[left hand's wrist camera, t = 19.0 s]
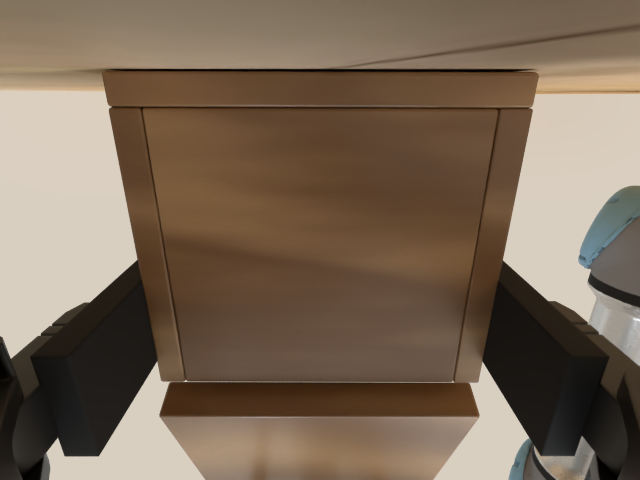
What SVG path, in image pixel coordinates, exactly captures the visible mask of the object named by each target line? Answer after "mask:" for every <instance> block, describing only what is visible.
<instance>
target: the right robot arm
mask: <svg viewBox="0 0 640 480" xmlns="http://www.w3.org/2000/svg"><path fill="white" fill-rule="evenodd" d="M579 263H580V264H581V265H582V266H584V267H585V268H587V269H591V273H590V276H589V279H588V286H589V287H590V289H591V290H592V291H593V293H594V294H595V296H596V298H597V299H596V302H595V305H594V308H593V311H592V313H591V316H590V319H589V322H588V325H591V326H592V327H594V328H595V329H596V330H597V331H598V332H599V335H603V336H604V337H605V338H607V339H608V340H609V341H610V342H611V343H613V344H614V345H615V346H616V347H617V348H618V349H620V350H621V351H622V352H623V353H624V354H626V355H627V356H628V357H629V358H630V359H631V360H633V361H634V362H635V363H636V364H637V365H639V366H640V186H629V187H625V188H623V189H621V190H619V191H618V192H616V193H615V194H614V195H613V196H612V197H611V198H610V199H609V200H608V201H607V202H606V204H605V205H604V206H603V207H602V209H601V210H600V212H599V213H598V215H597V216H596V218H595V220H594V221H593V223H592V225H591V227H590V229H589V230H588V232H587V234H586V236H585V239H584V241H583V243H582V246H581V249H580V255H579ZM593 454H594V451H593V449H592V448H591V447H590V445H589V444H588V443H587V442H586V440H585V439H584V438H583V436H582V437H581V440H580V443H579V445H578V448H577V451H576V454H575V456H540V454H539V453H538V451H537V449H536V448H535V446H534V444H533V443H532V441H531V440H530V438H529V439H527V440H526V441H525V442H524V443H523V445H522V446H521V448H520V449H519V451H518V453H517V455H516V458H515V462H514V465H513V466H512V468H511V471H510V475H509V480H584V478H585V475H586V472H587V470H588V467H589V465H590V462H591V459H592V457H593Z"/></svg>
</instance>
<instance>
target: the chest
mask: <svg viewBox="0 0 640 480" xmlns="http://www.w3.org/2000/svg"><path fill="white" fill-rule="evenodd" d="M102 76H103V82H104V87H105V92H106V97H107V102H108V105H109V106H111V108H110V109H109V114H110V119H111V124H112V130H113V135H114V140H115V145H116V150H117V155H118V160H119V165H120V171H121V176H122V181H123V186H124V191H125V196H126V202H127V207H128V212H129V217H130V222H131V228H132V233H133V238H134V243H135V248H136V253H137V259H138V264H139V269H140V274H141V279H142V284H143V289H144V294H145V299H146V305H147V310H148V315H149V320H150V325H151V330H152V335H153V340H154V345H155V350H156V356H157V362H158V367H159V372H160V377H161V381H169V382H183V381H185V380H187V381H253V382H452V381H454V382H455V383H477V382H478V381H479V376H480V371H481V366H482V359H483V354H484V349H485V344H486V339H487V334H488V329H489V324H490V319H491V314H492V309H493V304H494V298H495V293H496V288H497V283H498V281H499V276H500V271H501V266H502V261H503V256H504V251H505V246H506V241H507V236H508V231H509V226H510V221H511V216H512V211H513V206H514V201H515V196H516V191H517V186H518V181H519V176H520V172H521V166H522V162H523V156H524V152H525V147H526V142H527V137H528V132H529V127H530V122H531V117H532V112H533V110H532V109H530V107H532V105H533V102H534V97H535V92H536V87H537V82H538V77H539V76H538V73H536V72H331V71H105V72H103V74H102Z"/></svg>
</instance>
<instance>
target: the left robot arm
mask: <svg viewBox="0 0 640 480" xmlns="http://www.w3.org/2000/svg"><path fill="white" fill-rule="evenodd" d="M482 361H483V363H484V364H485V366H486V368H487V369H488V371H489V373H490V374H491V376H492V377H493V379H494V381H495V382H496V384H497V386H498V387H499V389H500V391H501V392H502V394H503V395H504V397H505V399H506V400H507V402H508V404H509V405H510V407H511V409H512V410H513V412H514V413H515V415H516V417H517V418H518V420H519V422H520V423H521V425H522V426H523V428H524V430H525V431H526V433H527V435H528V436H529V438H530V440H531V441H532V443H533V444H534V446H535V448H536V449H537V451H538V453H539V454H540V456H575V454H576V451H577V448H578V445H579V443H580V440H581V437H582V436H583V438H584V439H585V440H586V442H587V443H588V444H589V445H590V447H591V448H592V449H593V451H594V454H593V457H592V459H591V462H590V465H589V467H588V470H587V472H586V475H585V478H584V480H640V366H639V365H637V364H636V363H635V362H634V361H633V360H631V359H630V358H629V357H628V356H627V355H626V354H624V353H623V352H622V351H621V350H620V349H618V348H617V347H616V346H615V345H614V344H613V343H611V342H610V341H609V340H608V339H607V338H605V337H604V336H603V335H599V332H598V331H597V330H596V329H595V328H594V327H592V326H591V325H588V322H587V321H585V320H584V319H583V318H582V317H581V316H579V315H578V314H577V313H576V312H575V311H573V310H571V309H569V308H567V307H565V306H564V305H562V304H560V303H558V302H556V301H547V300H546V299H545V298H544V297H543V296H542V295H541V294H539V293H538V292H537V291H536V290H535V289H534V288H533V287H532V286H531V285H529V284H528V283H527V282H526V281H525V280H524V279H523V278H522V277H521V276H519V275H518V274H517V273H516V272H515V271H514V270H513V269H512V268H511V267H509V266H508V265H507V264H506V263H505V262H504V261H502V266H501V271H500V276H499V281H498V283H497V288H496V293H495V298H494V304H493V309H492V314H491V319H490V324H489V329H488V334H487V339H486V344H485V349H484V354H483V359H482ZM156 362H157V356H156V350H155V345H154V340H153V335H152V330H151V325H150V320H149V315H148V310H147V305H146V299H145V294H144V289H143V284H142V279H141V274H140V269H139V264H138V260H137V261H136V262H135V263H134V264H132V265H131V266H130V267H129V268H128V269H127V270H126V271H125V272H123V273H122V274H121V275H120V276H119V277H118V278H117V279H116V280H115V281H113V282H112V283H111V284H110V285H109V286H108V287H107V288H106V289H105V290H103V291H102V292H101V293H100V294H99V295H98V296H97V297H96V298H95V299H93V300H92V301H91V302H90V303H83V304H81V305H79V306H77V307H75V308H73V309H71V310H69V311H67V312H66V313H64V314H63V315H62V316H61V317H60V318H59V319H57V320H56V321H55V322H54V323H53V324H52V326H49V327H48V328H47V329H46V330H44V331H43V332H42V333H41V336H37V337H36V338H35V339H34V340H33V341H32V342H30V343H29V344H28V345H27V346H26V347H25V348H23V349H22V350H21V351H20V352H19V353H18V354H16V355H15V356H14V357H13V358H12V359H10V356H9V354H8V351H7V348H6V345H5V343H4V340H3V338H2V337H1V336H0V480H49V474H50V464H49V459H48V457H47V454H46V452H47V451H48V450H49V448H50V447H51V446H52V444H53V443H54V442H55V440H56V439H57V438H59V441H60V444H61V447H62V450H63V453H64V455H65V456H99V455H100V453H101V452H102V450H103V449H104V447H105V445H106V444H107V442H108V440H109V439H110V437H111V435H112V434H113V432H114V431H115V429H116V427H117V426H118V424H119V423H120V421H121V419H122V418H123V416H124V414H125V413H126V411H127V409H128V408H129V406H130V404H131V403H132V401H133V400H134V398H135V396H136V395H137V393H138V392H139V390H140V388H141V387H142V385H143V383H144V382H145V380H146V378H147V377H148V375H149V374H150V372H151V370H152V369H153V367H154V365H155V364H156Z"/></svg>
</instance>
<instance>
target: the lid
mask: <svg viewBox="0 0 640 480" xmlns="http://www.w3.org/2000/svg"><path fill="white" fill-rule="evenodd" d="M160 418H161V419H162V421H163V422H164V423H165V425H166V426H167V427H168V429H169V430H170V432H171V433H172V434H173V436H174V437H175V438H176V440H177V441H178V443H179V444H180V445H181V447H182V448H183V449H184V451H185V452H186V454H187V455H188V456H189V458H190V459H191V460H192V462H193V463H194V465H195V466H196V467H197V469H198V470H199V471H200V473H201V474H202V476H203V477H204V478H205V480H433V479H434V478H435V476H436V475H437V474H438V472H439V471H440V470H441V468H442V467H443V466H444V464H445V463H446V462H447V460H448V459H449V458H450V456H451V455H452V453H453V452H454V451H455V449H456V448H457V447H458V445H459V444H460V443H461V441H462V440H463V439H464V437H465V436H466V435H467V433H468V432H469V430H470V429H471V428H472V426H473V425H474V424H475V422H476V421H477V420H478V418H479V412H478V409H477V405H476V402H475V399H474V396H473V392H472V389H471V386H470V384H469V383H372V382H365V383H364V382H170V383H169V385H168V389H167V392H166V395H165V398H164V402H163V405H162V408H161V411H160Z"/></svg>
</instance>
